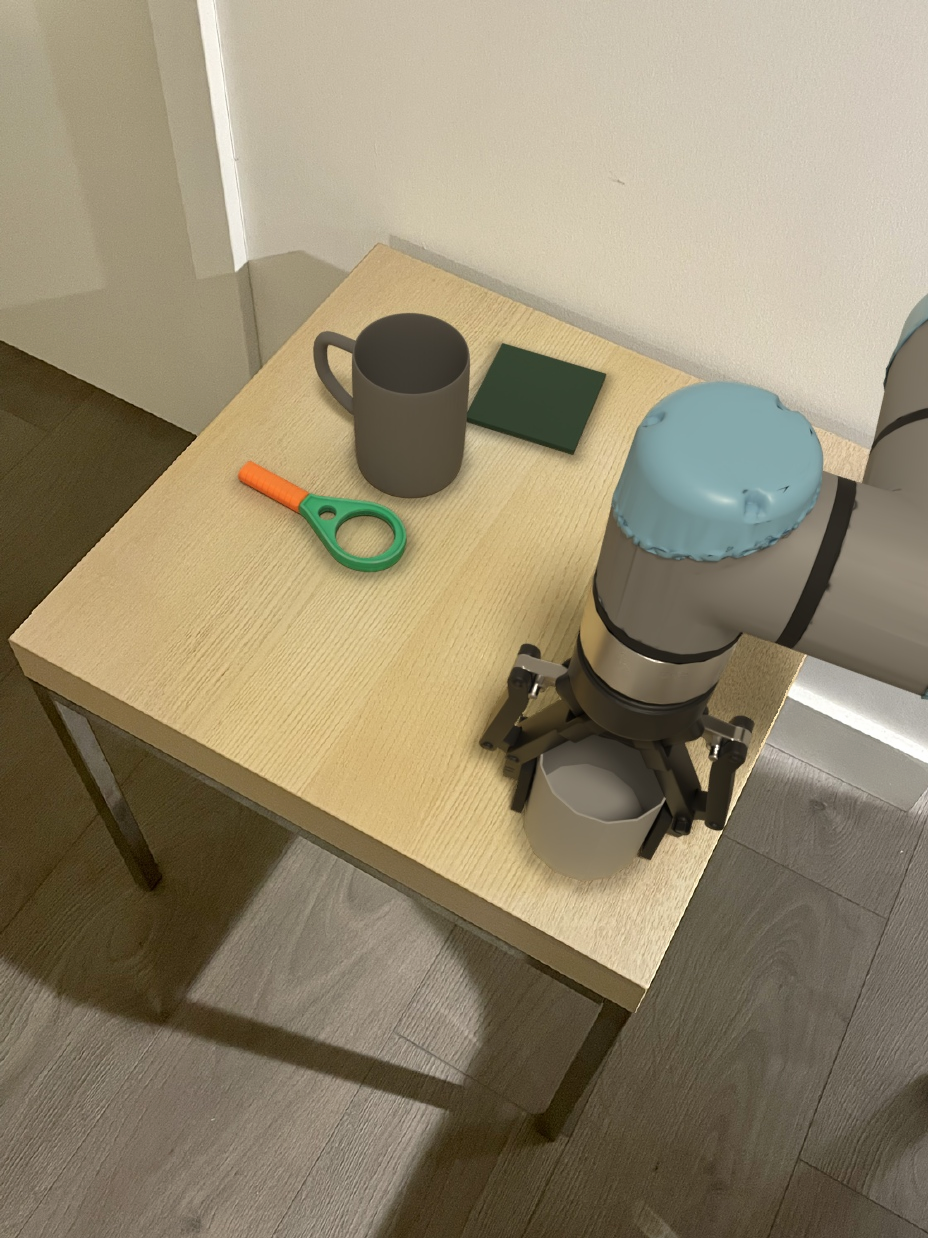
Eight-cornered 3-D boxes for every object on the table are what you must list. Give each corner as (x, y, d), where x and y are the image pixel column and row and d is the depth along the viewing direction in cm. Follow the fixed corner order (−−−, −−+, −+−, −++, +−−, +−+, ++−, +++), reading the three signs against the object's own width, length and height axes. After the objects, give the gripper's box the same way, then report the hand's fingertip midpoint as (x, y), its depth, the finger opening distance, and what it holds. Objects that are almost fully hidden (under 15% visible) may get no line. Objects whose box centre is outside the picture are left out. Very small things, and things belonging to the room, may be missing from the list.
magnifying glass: (420, 533, 87) (421, 520, 85) (379, 585, 84) (379, 572, 82) (268, 455, 90) (266, 441, 89) (223, 502, 87) (220, 488, 86)
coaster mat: (605, 378, 97) (606, 373, 97) (573, 455, 92) (574, 450, 92) (501, 347, 99) (502, 342, 98) (464, 421, 94) (464, 416, 93)
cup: (560, 746, 77) (580, 677, 69) (663, 803, 75) (697, 739, 67) (501, 841, 73) (515, 779, 64) (609, 904, 71) (638, 849, 62)
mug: (482, 446, 92) (493, 339, 82) (428, 517, 88) (432, 413, 78) (348, 384, 95) (343, 274, 85) (289, 450, 91) (276, 342, 81)
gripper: (871, 652, 55) (748, 822, 74) (480, 525, 58) (459, 720, 77) (848, 778, 51) (725, 924, 70) (429, 634, 54) (420, 812, 73)
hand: (585, 817), depth 73 cm, fingers closed on cup, 8 cm apart
